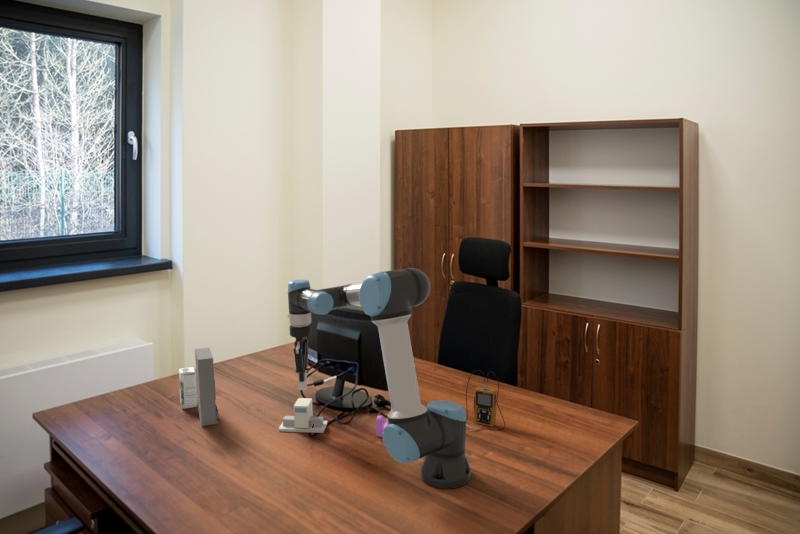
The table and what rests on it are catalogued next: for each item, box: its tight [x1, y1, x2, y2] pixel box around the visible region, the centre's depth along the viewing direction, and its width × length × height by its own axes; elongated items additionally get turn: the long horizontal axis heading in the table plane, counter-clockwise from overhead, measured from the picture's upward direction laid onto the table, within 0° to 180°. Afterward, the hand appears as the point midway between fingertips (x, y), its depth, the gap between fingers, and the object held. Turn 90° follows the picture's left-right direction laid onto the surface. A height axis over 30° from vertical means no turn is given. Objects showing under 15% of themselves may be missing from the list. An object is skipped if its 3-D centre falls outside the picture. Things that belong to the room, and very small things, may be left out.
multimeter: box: [465, 369, 506, 432], centre depth 230 cm, size 15×10×20 cm
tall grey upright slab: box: [194, 347, 219, 427], centre depth 239 cm, size 14×6×25 cm, turn 22°
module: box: [293, 397, 314, 428], centre depth 232 cm, size 5×8×8 cm, turn 176°
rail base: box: [277, 415, 328, 434], centre depth 233 cm, size 16×8×4 cm, turn 86°
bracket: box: [375, 415, 389, 438], centre depth 230 cm, size 13×6×7 cm, turn 161°
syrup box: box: [178, 367, 198, 410], centre depth 252 cm, size 6×6×14 cm
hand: (302, 389), depth 230 cm, fingers closed
